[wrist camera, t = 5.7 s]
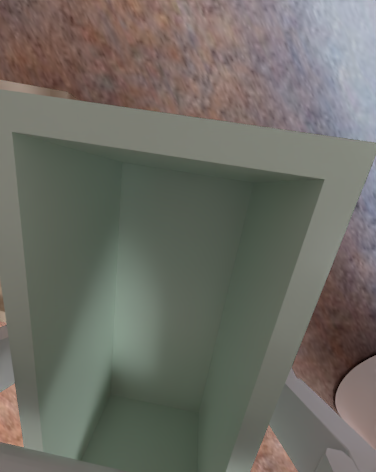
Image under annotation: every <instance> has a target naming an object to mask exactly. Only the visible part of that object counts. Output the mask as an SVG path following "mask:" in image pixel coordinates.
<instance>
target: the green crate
mask: <svg viewBox="0 0 376 472" xmlns="http://www.w3.org/2000/svg"><path fill="white" fill-rule="evenodd" d="M375 156H376V143H374V142H367V141H360V140H353V139H346V138H339V137H332V136H325V135H317V134H310V133H303V132H296V131H289V130H282V129H275V128H268V127H261V126H254V125H247V124H240V123H233V122H226V121H219V120H212V119H205V118H198V117H191V116H184V115H177V114H170V113H163V112H156V111H149V110H142V109H135V108H128V107H121V106H114V105H107V104H100V103H93V102H86V101H79V100H72V99H65V98H58V97H51V96H44V95H37V94H30V93H22V92H15V91H8V90H1V89H0V281H1V288H2V295H3V302H4V309H5V316H6V323H7V330H8V337H9V344H10V351H11V359H12V366H13V373H14V380H15V387H16V394H17V401H18V408H19V415H20V422H21V429H22V436H23V443H24V448H28V449H32V450H37V451H41V452H45V453H50V454H54V455H58V456H63V457H67V458H72V459H76V460H80V461H85V462H89V463H93V464H98V465H102V466H106V467H111V468H115V469H119V470H124V471H128V472H250V470H251V468H252V465H253V463H254V460H255V458H256V455H257V453H258V450H259V448H260V445H261V443H262V440H263V438H264V435H265V433H266V430H267V428H268V425H269V422H270V420H271V417H272V415H273V412H274V410H275V407H276V405H277V402H278V400H279V397H280V395H281V392H282V390H283V387H284V385H285V382H286V380H287V377H288V375H289V372H290V370H291V367H292V365H293V362H294V360H295V357H296V355H297V352H298V350H299V347H300V345H301V342H302V340H303V337H304V334H305V332H306V329H307V327H308V324H309V322H310V319H311V317H312V314H313V312H314V309H315V307H316V304H317V302H318V299H319V297H320V294H321V292H322V289H323V287H324V284H325V282H326V279H327V277H328V274H329V272H330V269H331V267H332V264H333V262H334V259H335V257H336V254H337V251H338V249H339V246H340V244H341V241H342V239H343V236H344V234H345V231H346V229H347V226H348V224H349V221H350V219H351V216H352V214H353V211H354V209H355V206H356V204H357V201H358V199H359V196H360V194H361V191H362V189H363V186H364V184H365V181H366V179H367V176H368V174H369V171H370V168H371V166H372V163H373V161H374V158H375Z"/></svg>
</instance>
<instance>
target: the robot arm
mask: <svg viewBox="0 0 376 472" xmlns="http://www.w3.org/2000/svg"><path fill="white" fill-rule="evenodd" d="M14 383H15V380H14V373H13V366H12V359H11V351H10V344H9V337H8V330H7V325H5V326H2V327H0V392H2V391H3V390H5V389H6V388H8V387H9V386H11V385H13V384H14ZM335 404H336V409H337V411H338V413H339V415H340V416H341V417H340V416H339V415H338V414H337V413H336V412H335V411H334V410H333V409H332V408H331V407H330V406H329V405H327V404H326V403H325V402H324V401H323V400H322V399H321V398H320V397H319V396H318V395H317V394H316V393H315V392H314V391H313V390H312V389H311V388H310V387H309V386H308V385H307V384H306V383H305V382H303V381H302V380H301V379H298V378H296V375H295V373H294V371H293V369H292V367H291V370H290V372H289V375H288V377H287V380H286V382H285V385H284V387H283V390H282V392H281V395H280V397H279V400H278V402H277V405H276V407H275V410H274V412H273V415H272V417H271V420H270V422H269V425H270V427H271V428H272V430H273V432H274V433H275V435H276V436H277V438H278V440H279V441H280V443H281V444H282V446H283V448H284V449H285V451H286V452H287V454H288V456H289V457H290V459H291V460H292V462H293V464H294V465H295V467H296V468H297V470H298V472H376V355H375V356H373V357H371V358H369V359H367V360H365V361H363V362H362V363H360V364H359V365H357V366H356V367H355V368H354V369H352V370H351V371H350V372H349V373H348V374H347V375H346V376H345V378H344V379H343V380H342V382H341V383H340V385H339V387H338V390H337V393H336V397H335ZM0 472H128V471H124V470H119V469H115V468H111V467H106V466H102V465H98V464H93V463H89V462H85V461H80V460H76V459H72V458H67V457H63V456H58V455H54V454H50V453H45V452H41V451H37V450H32V449H28V448H24V447H19V446H15V445H11V444H6V443H2V442H0Z"/></svg>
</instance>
